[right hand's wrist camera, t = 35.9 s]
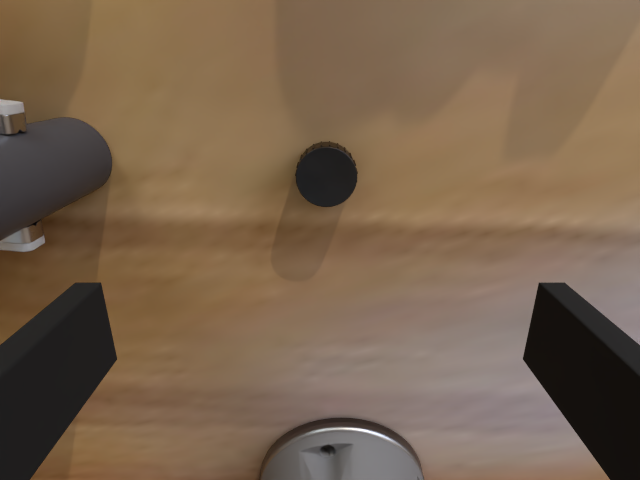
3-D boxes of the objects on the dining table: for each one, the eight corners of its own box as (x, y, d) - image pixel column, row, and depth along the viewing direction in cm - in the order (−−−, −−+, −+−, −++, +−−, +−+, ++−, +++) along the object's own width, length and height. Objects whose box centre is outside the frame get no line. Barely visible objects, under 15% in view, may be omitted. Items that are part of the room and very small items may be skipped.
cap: (343, 131, 28) (345, 136, 26) (364, 186, 29) (366, 194, 27) (287, 154, 28) (285, 160, 26) (310, 207, 30) (309, 216, 28)
